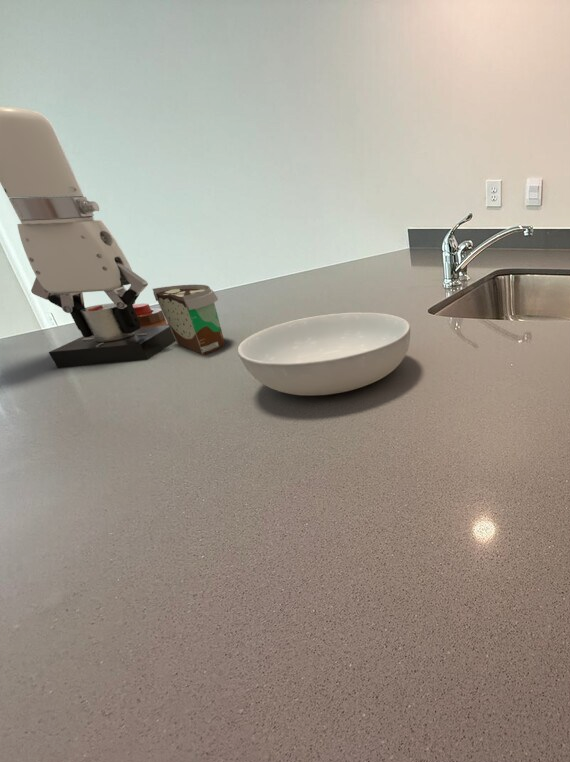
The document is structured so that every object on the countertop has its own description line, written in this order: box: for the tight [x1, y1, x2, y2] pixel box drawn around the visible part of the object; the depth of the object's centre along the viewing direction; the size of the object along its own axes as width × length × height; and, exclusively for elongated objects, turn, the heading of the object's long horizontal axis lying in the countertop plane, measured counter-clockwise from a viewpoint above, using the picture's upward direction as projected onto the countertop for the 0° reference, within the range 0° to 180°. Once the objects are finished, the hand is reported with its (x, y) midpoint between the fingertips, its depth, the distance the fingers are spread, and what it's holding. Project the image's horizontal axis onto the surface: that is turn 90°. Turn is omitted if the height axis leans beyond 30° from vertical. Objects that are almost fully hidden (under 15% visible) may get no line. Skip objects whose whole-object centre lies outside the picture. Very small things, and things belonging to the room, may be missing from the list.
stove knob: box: [80, 302, 134, 342], centre depth 65 cm, size 5×5×5 cm
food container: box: [152, 284, 226, 356], centre depth 68 cm, size 12×6×10 cm, turn 58°
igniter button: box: [133, 303, 152, 315], centre depth 76 cm, size 3×3×2 cm
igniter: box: [137, 307, 168, 328], centre depth 77 cm, size 10×8×4 cm
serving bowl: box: [237, 312, 411, 396], centre depth 55 cm, size 21×21×7 cm
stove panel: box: [48, 325, 176, 369], centre depth 67 cm, size 12×10×3 cm
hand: (112, 331), depth 66 cm, fingers open, 4 cm apart
